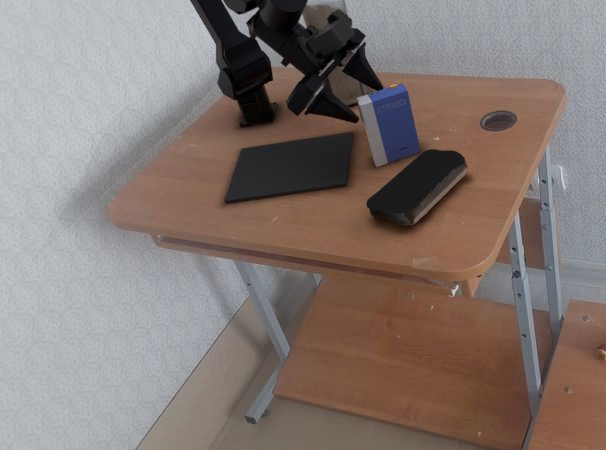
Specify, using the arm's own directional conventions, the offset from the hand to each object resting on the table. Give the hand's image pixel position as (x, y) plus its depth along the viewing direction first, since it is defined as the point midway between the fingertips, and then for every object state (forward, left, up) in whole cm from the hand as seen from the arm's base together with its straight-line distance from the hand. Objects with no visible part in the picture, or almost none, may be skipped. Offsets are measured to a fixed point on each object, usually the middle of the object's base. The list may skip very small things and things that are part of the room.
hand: (370, 105), depth 110 cm
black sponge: (+13, +6, -10) cm, 17 cm away
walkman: (+1, +2, -10) cm, 10 cm away
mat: (0, -16, -10) cm, 18 cm away
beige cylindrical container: (-21, -8, -10) cm, 25 cm away
